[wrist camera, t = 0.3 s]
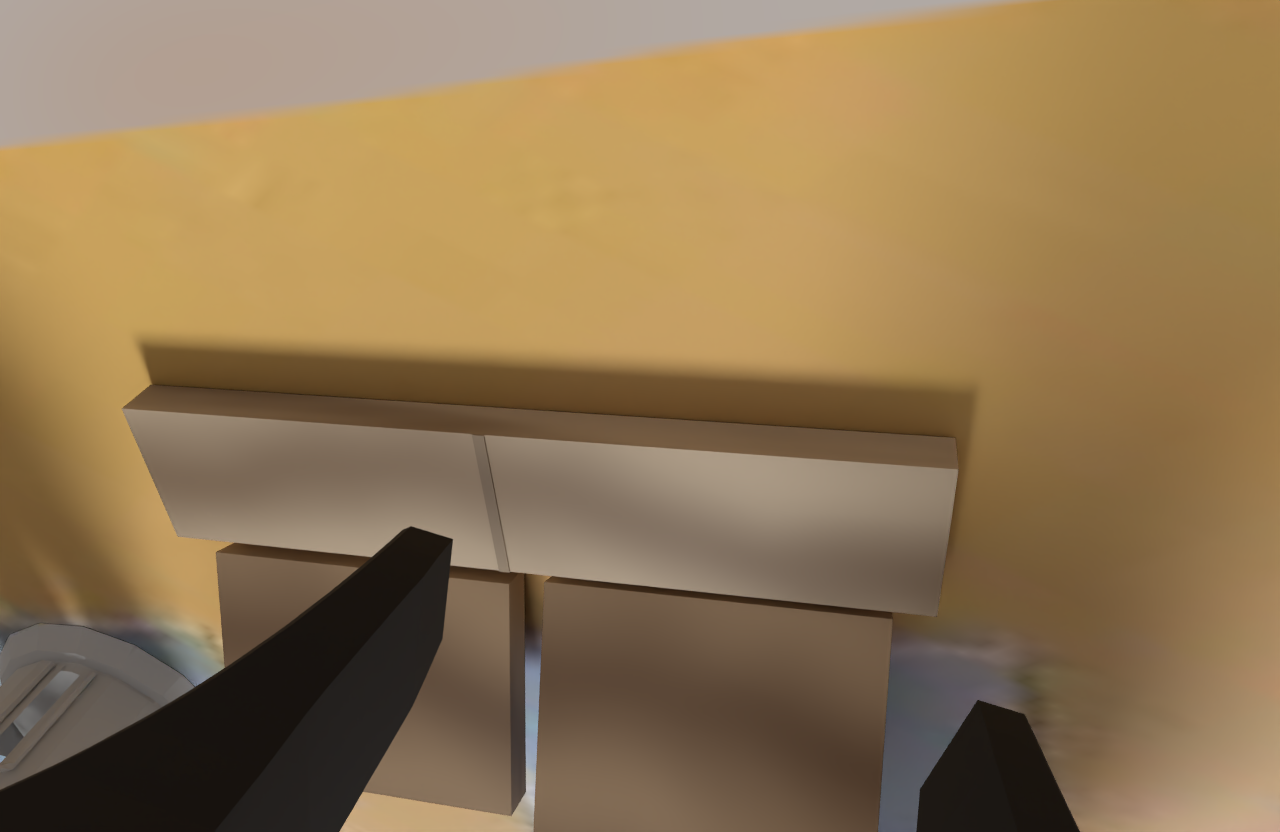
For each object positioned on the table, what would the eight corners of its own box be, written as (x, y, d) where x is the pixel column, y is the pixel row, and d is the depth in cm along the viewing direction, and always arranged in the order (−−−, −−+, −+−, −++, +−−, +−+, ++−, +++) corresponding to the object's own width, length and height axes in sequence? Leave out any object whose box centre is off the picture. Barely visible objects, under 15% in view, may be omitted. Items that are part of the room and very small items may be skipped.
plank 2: (872, 867, 25) (873, 893, 24) (547, 814, 27) (533, 835, 26) (890, 606, 24) (892, 619, 23) (558, 572, 26) (544, 581, 25)
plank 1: (525, 791, 28) (511, 816, 27) (256, 749, 30) (232, 770, 29) (524, 568, 27) (508, 584, 25) (242, 539, 29) (216, 552, 27)
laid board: (934, 591, 24) (935, 626, 23) (205, 518, 28) (180, 545, 27) (955, 437, 21) (958, 471, 20) (150, 384, 26) (120, 409, 25)
